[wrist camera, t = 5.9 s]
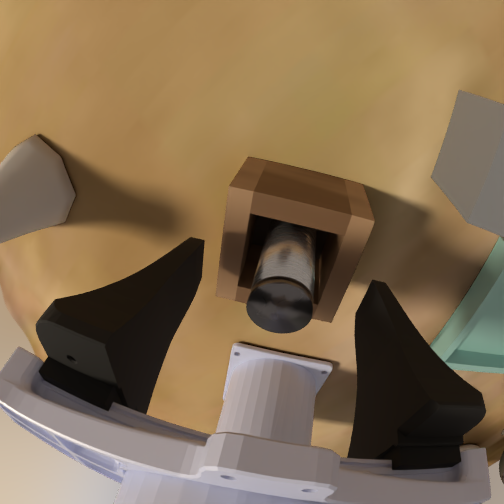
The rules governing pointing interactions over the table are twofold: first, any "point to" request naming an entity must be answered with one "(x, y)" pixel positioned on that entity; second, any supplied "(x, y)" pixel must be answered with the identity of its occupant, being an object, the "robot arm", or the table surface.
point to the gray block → (474, 161)
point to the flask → (33, 189)
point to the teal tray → (477, 322)
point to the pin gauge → (284, 279)
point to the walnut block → (298, 212)
